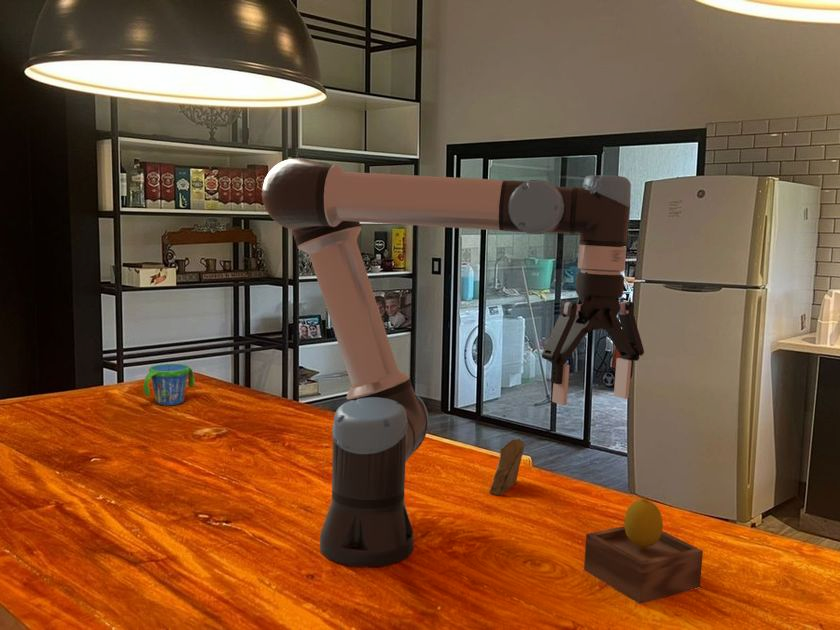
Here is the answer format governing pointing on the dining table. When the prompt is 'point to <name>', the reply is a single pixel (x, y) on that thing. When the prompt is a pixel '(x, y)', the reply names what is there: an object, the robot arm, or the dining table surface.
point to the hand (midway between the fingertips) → (590, 400)
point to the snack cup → (169, 383)
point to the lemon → (643, 523)
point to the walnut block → (643, 565)
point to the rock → (507, 467)
